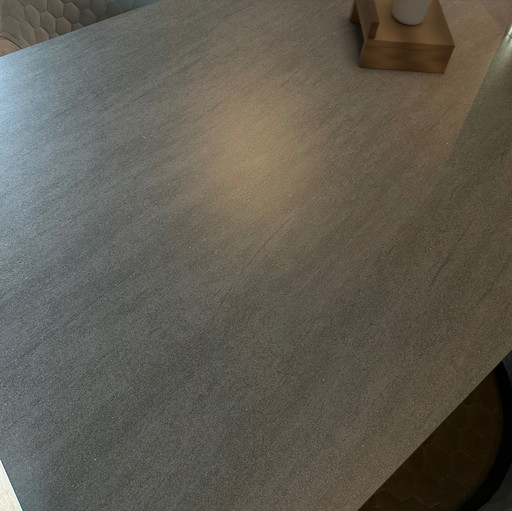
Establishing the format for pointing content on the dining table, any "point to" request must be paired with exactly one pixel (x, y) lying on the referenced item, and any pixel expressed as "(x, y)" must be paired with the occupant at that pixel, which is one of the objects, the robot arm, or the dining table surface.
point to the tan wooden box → (402, 38)
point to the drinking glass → (410, 11)
